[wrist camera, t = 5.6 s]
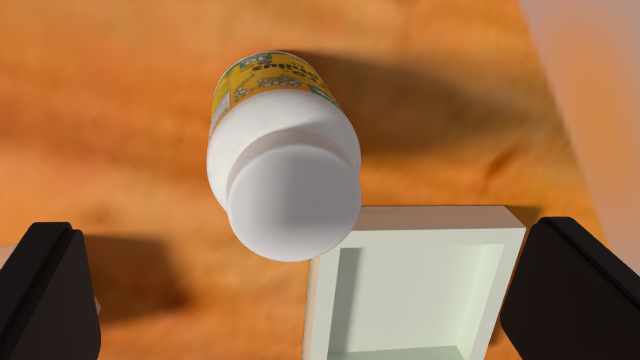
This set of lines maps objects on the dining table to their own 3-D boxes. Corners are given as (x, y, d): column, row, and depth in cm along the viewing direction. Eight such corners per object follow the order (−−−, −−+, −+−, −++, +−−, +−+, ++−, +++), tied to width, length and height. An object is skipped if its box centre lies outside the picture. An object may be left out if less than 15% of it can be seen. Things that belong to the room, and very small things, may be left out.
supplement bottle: (198, 136, 22) (175, 256, 14) (236, 28, 20) (236, 90, 12) (302, 171, 24) (338, 297, 15) (346, 74, 22) (415, 157, 13)
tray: (462, 346, 32) (478, 375, 30) (301, 356, 30) (306, 388, 28) (503, 205, 27) (526, 227, 25) (315, 207, 25) (322, 231, 23)
